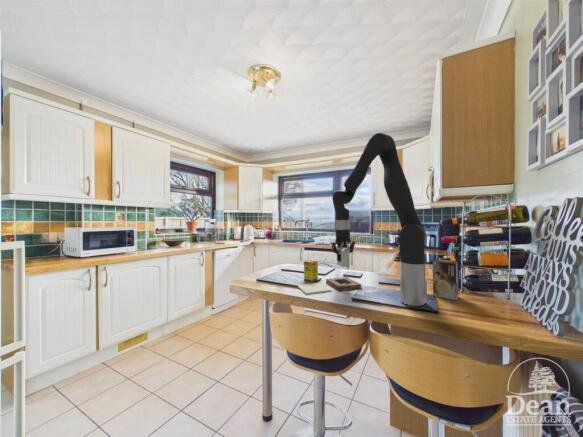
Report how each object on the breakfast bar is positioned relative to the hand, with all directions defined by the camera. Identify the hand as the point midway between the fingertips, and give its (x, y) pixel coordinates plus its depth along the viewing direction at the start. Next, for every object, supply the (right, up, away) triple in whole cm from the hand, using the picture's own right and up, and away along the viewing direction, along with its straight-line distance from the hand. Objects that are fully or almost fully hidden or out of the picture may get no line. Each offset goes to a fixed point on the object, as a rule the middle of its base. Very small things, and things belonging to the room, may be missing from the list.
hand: (343, 260), depth 123 cm
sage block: (0, -3, 0) cm, 3 cm away
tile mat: (-16, -13, -5) cm, 22 cm away
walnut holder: (0, -13, 0) cm, 13 cm away
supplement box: (-16, -13, +11) cm, 24 cm away
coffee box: (+43, -13, -17) cm, 48 cm away
